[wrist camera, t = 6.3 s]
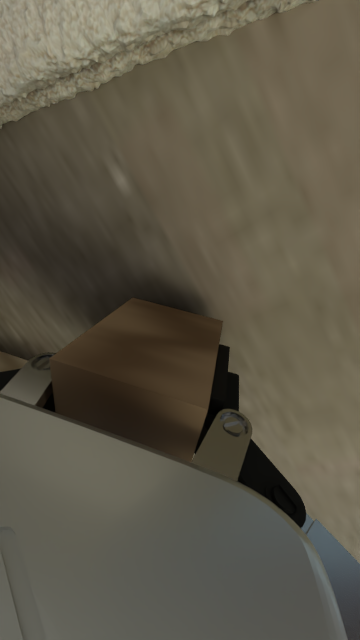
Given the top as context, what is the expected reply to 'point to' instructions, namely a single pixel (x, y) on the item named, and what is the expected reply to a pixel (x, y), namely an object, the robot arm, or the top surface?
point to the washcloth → (102, 41)
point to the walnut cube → (141, 375)
